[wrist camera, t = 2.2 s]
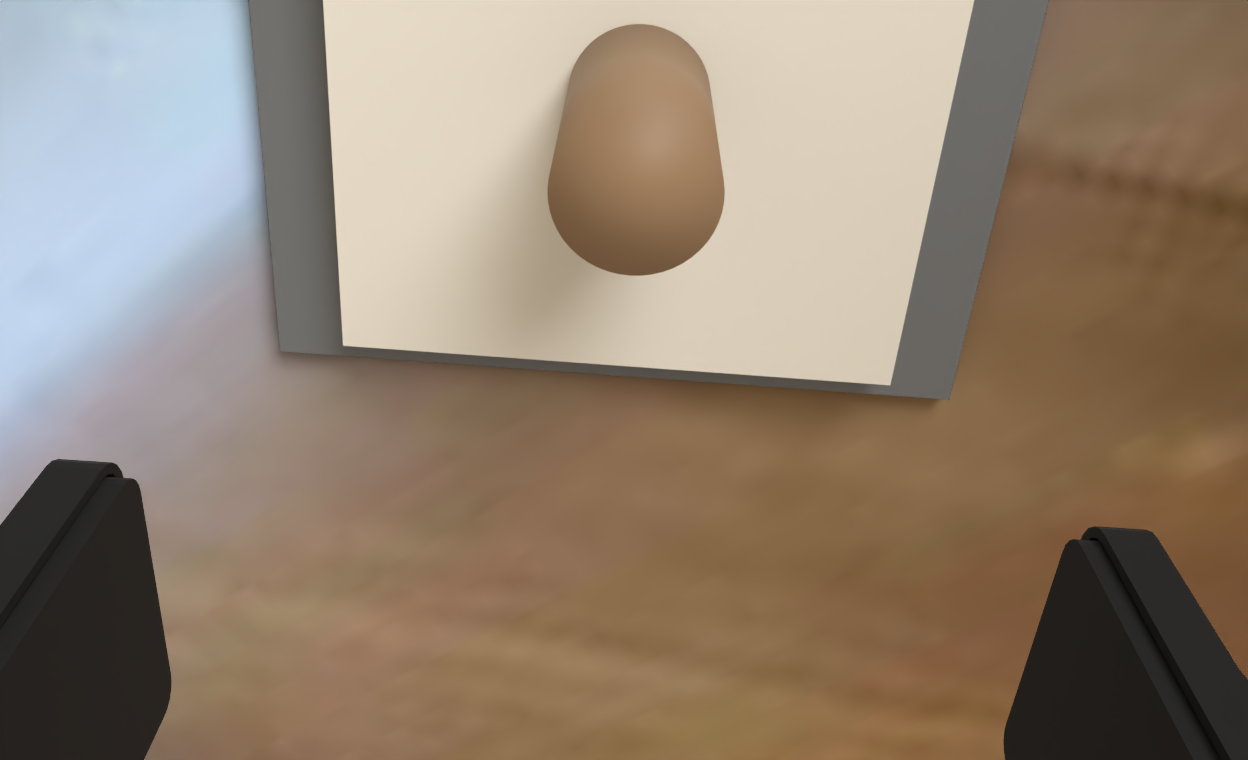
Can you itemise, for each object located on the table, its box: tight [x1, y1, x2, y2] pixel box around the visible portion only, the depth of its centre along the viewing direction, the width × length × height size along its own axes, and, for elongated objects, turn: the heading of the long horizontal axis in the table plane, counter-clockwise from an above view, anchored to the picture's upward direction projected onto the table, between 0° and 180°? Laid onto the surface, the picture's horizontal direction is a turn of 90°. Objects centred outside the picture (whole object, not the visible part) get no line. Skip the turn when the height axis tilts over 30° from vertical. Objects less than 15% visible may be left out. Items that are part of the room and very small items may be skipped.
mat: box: [249, 0, 1049, 400], centre depth 28 cm, size 18×16×1 cm
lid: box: [323, 0, 974, 385], centre depth 24 cm, size 14×14×7 cm
